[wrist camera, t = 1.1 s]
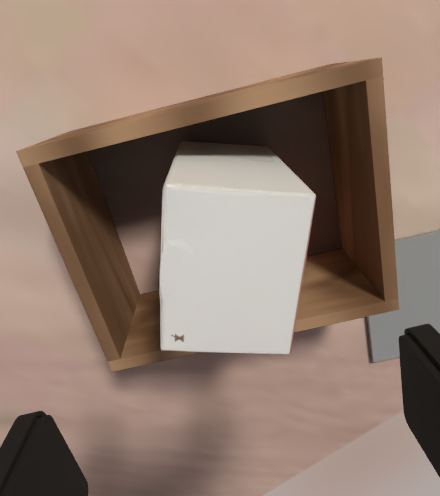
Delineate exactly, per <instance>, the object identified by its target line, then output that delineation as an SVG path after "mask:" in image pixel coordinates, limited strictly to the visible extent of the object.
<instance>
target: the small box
mask: <svg viewBox="0 0 440 496" xmlns="http://www.w3.org/2000/svg"><path fill="white" fill-rule="evenodd" d="M315 201H316V195H315V193H314V192H313V191H312V190H310V188H309V187H308V186H307V185H306V184H305V183H304V182H303V181H302V180H301V179H300V178H299V177H298V176H297V175H296V174H294V172H293V171H292V170H291V169H290V168H289V167H288V166H287V165H286V164H285V163H284V162H283V161H282V160H281V159H280V158H279V157H278V156H277V155H276V154H274V152H273V151H272V150H271V149H270V148H268V147H264V146H249V145H234V144H219V143H205V142H190V141H181V142H180V144H179V147H178V149H177V152H176V155H175V157H174V159H173V162H172V165H171V167H170V170H169V173H168V175H167V177H166V180H165V183H164V186H163V191H162V221H161V253H160V277H159V278H160V287H159V295H160V341H161V350H162V351H190V352H218V353H256V354H290V352H291V348H292V342H293V336H294V330H295V324H296V318H297V311H298V305H299V299H300V293H301V287H302V281H303V275H304V269H305V264H306V257H307V250H308V245H309V238H310V232H311V226H312V219H313V213H314V207H315Z"/></svg>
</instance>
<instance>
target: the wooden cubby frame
mask: <svg viewBox="0 0 440 496" xmlns="http://www.w3.org/2000/svg"><path fill="white" fill-rule="evenodd" d="M318 92H323V100H324V108H325V116H326V124H327V131H328V139H329V147H330V155H331V163H332V171H333V179H334V186H335V194H336V202H337V210H338V218H339V226H340V234H341V242H342V249H338V250H334V251H329V252H325V253H321V254H316V255H312V256H307V257H306V264H305V269H304V275H303V281H302V287H301V293H300V299H299V305H298V311H297V318H296V324H295V330H294V332H298V331H303V330H307V329H312V328H317V327H321V326H326V325H331V324H335V323H340V322H344V321H349V320H354V319H358V318H363V317H367V316H372V315H377V314H381V313H386V312H391V311H395V310H399V298H398V284H397V270H396V255H395V241H394V227H393V212H392V198H391V184H390V169H389V155H388V141H387V126H386V112H385V98H384V83H383V69H382V58H376V59H368V60H360V61H352V62H344V63H336V64H330V65H326V66H322V67H318V68H314V69H311V70H307V71H303V72H299V73H295V74H291V75H287V76H283V77H280V78H276V79H272V80H268V81H264V82H260V83H256V84H252V85H248V86H245V87H241V88H237V89H233V90H229V91H225V92H221V93H217V94H214V95H210V96H206V97H202V98H198V99H194V100H190V101H186V102H183V103H179V104H175V105H171V106H167V107H163V108H159V109H155V110H152V111H148V112H144V113H140V114H136V115H132V116H128V117H124V118H120V119H117V120H113V121H109V122H105V123H101V124H97V125H93V126H89V127H86V128H82V129H78V130H74V131H70V132H67V133H64V134H62V135H59V136H56V137H54V138H51V139H48V140H46V141H43V142H40V143H38V144H35V145H32V146H30V147H27V148H24V149H22V150H19V151H16V152H17V155H18V157H19V159H20V162H21V164H22V166H23V168H24V171H25V173H26V175H27V178H28V180H29V182H30V184H31V187H32V189H33V191H34V194H35V196H36V198H37V201H38V203H39V205H40V207H41V210H42V212H43V214H44V217H45V219H46V221H47V223H48V226H49V228H50V230H51V233H52V235H53V237H54V239H55V242H56V244H57V246H58V249H59V251H60V253H61V255H62V258H63V260H64V262H65V265H66V267H67V269H68V271H69V274H70V276H71V278H72V281H73V283H74V285H75V288H76V290H77V292H78V294H79V297H80V299H81V301H82V304H83V306H84V308H85V310H86V313H87V315H88V317H89V320H90V322H91V324H92V326H93V329H94V331H95V333H96V336H97V338H98V340H99V342H100V345H101V347H102V349H103V352H104V354H105V356H106V359H107V361H108V363H109V365H110V368H111V370H112V372H113V371H118V370H123V369H127V368H132V367H137V366H141V365H146V364H150V363H155V362H160V361H164V360H169V359H173V358H178V357H183V356H187V355H192V354H197V353H201V352H190V351H162V350H161V341H160V295H159V290H158V291H154V292H150V293H145V294H141V295H140V293H139V290H138V287H137V285H136V282H135V279H134V276H133V274H132V271H131V268H130V266H129V263H128V260H127V257H126V255H125V252H124V249H123V246H122V244H121V241H120V238H119V236H118V233H117V230H116V227H115V225H114V222H113V219H112V216H111V214H110V211H109V208H108V205H107V203H106V200H105V197H104V195H103V192H102V189H101V186H100V184H99V181H98V178H97V175H96V173H95V170H94V167H93V165H92V162H91V159H90V156H89V154H88V151H90V150H94V149H98V148H102V147H105V146H109V145H113V144H117V143H121V142H125V141H129V140H133V139H137V138H141V137H145V136H149V135H153V134H157V133H161V132H165V131H169V130H172V129H176V128H180V127H184V126H188V125H192V124H196V123H200V122H204V121H208V120H212V119H216V118H220V117H224V116H228V115H232V114H235V113H239V112H243V111H247V110H251V109H255V108H259V107H263V106H267V105H271V104H275V103H279V102H283V101H287V100H291V99H295V98H299V97H302V96H306V95H310V94H314V93H318Z"/></svg>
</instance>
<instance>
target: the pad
mask: <svg viewBox="0 0 440 496" xmlns="http://www.w3.org/2000/svg"><path fill="white" fill-rule="evenodd" d="M394 241H395V255H396V270H397V284H398V298H399V310H395V311H391V312H386V313H381V314H377V315H372V316H367V323H368V332H369V341H370V351H371V359H372V361H373V363H374V362H379V361H384V360H389V359H394V358H398V357H400V352H399V336H401V335H404V331H405V329H406V328H410V327H415V326H419V325H423V324H430V325H431V326H433V327H434V328H435V329H436V330H437V331H438V333H439V334H440V230H437V231H433V232H428V233H424V234H419V235H415V236H411V237H406V238H402V239H397V240H394Z"/></svg>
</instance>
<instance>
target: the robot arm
mask: <svg viewBox="0 0 440 496" xmlns="http://www.w3.org/2000/svg"><path fill="white" fill-rule="evenodd" d="M399 352H400V366H401V380H402V393H403V407H404V414H405V418H406V421H407V424H408V426H409V428H410V429H411V431H412V432H413V434H414V436H415V437H416V439H417V441H418V442H419V444H420V446H421V447H422V449H423V451H424V452H425V454H426V456H427V457H428V459H429V461H430V462H431V464H432V465H433V467H434V469H435V470H436V472H437V474H438V475H439V477H440V334H439V333H438V331H437V330H436V329H435V328H434V327H433V326H431V325H430V324H423V325H419V326H415V327H410V328H406V329H405V331H404V335H401V336H399ZM0 496H88V484H87V481H86V479H85V477H84V475H83V473H82V471H81V469H80V467H79V466H78V464H77V462H76V460H75V458H74V456H73V455H72V453H71V451H70V449H69V447H68V445H67V444H66V442H65V440H64V438H63V436H62V434H61V433H60V431H59V429H58V427H57V425H56V423H55V421H54V420H53V418H52V417H51V416H50V415H46V414H45V413H44V412H43V411H38V412H34V413H29V414H25V415H20V416H19V417H17V419H16V420H15V422H14V423H13V425H12V427H11V429H10V431H9V433H8V435H7V436H6V438H5V440H4V442H3V444H2V446H1V447H0Z"/></svg>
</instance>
